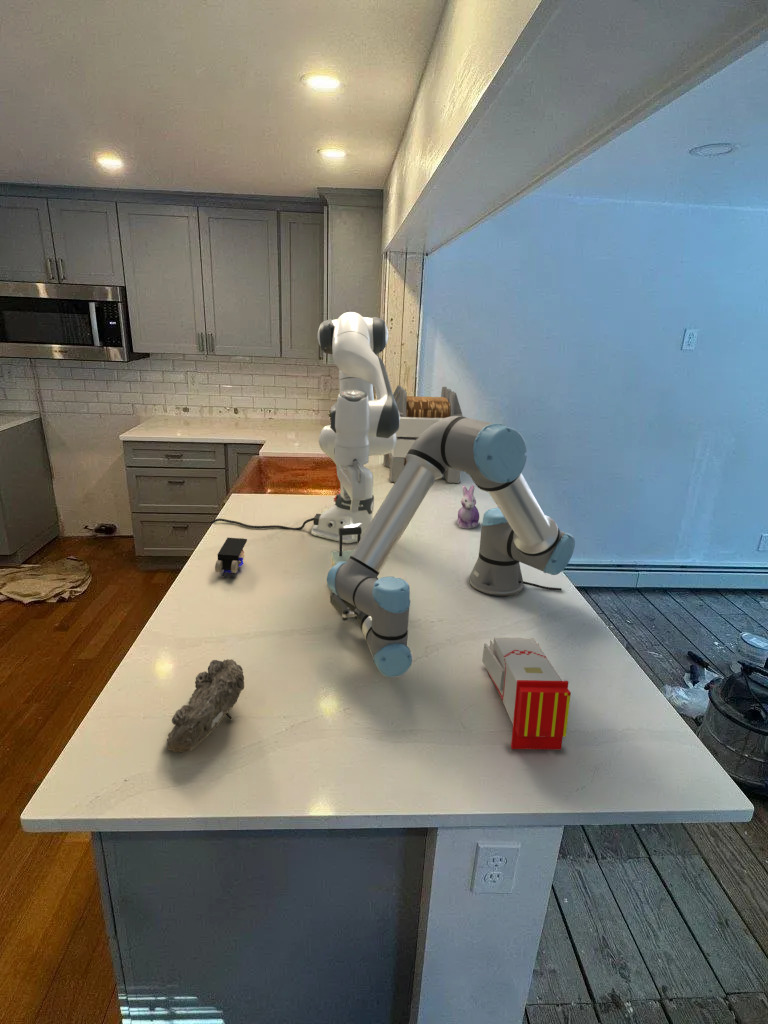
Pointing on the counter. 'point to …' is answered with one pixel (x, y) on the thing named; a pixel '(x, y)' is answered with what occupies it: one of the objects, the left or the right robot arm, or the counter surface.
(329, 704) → the counter surface
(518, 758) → the counter surface
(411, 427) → the transformer
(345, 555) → the lid
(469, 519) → the figurine
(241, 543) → the figurine character
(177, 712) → the fossil
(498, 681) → the toy
